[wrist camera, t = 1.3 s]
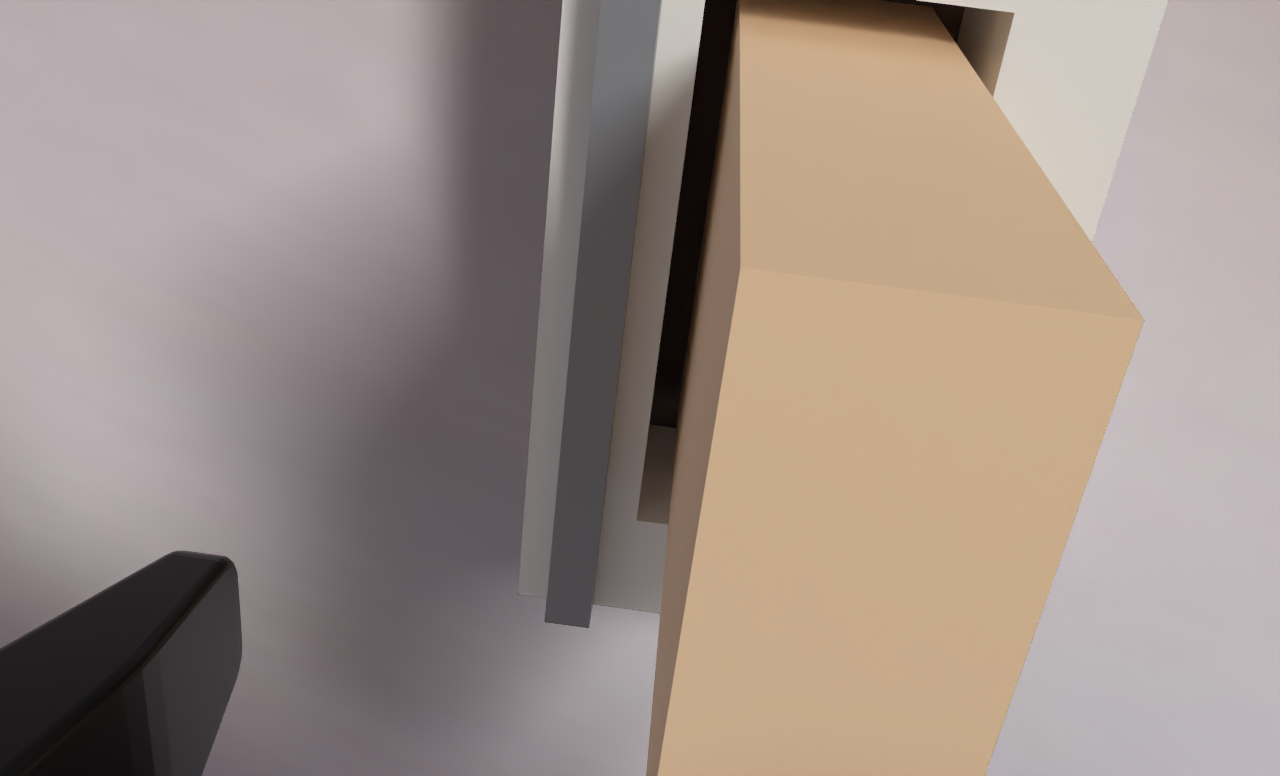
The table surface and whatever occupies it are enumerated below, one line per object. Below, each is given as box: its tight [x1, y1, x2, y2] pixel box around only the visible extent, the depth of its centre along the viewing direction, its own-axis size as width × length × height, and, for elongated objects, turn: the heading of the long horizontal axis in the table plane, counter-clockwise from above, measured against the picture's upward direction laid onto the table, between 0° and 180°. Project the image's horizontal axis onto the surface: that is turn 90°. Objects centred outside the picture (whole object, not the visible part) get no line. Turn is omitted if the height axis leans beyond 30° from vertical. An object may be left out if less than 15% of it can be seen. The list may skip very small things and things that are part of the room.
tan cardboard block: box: [646, 0, 1144, 776], centre depth 12 cm, size 6×2×9 cm, turn 174°
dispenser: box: [518, 0, 1168, 628], centre depth 15 cm, size 10×6×3 cm, turn 174°
